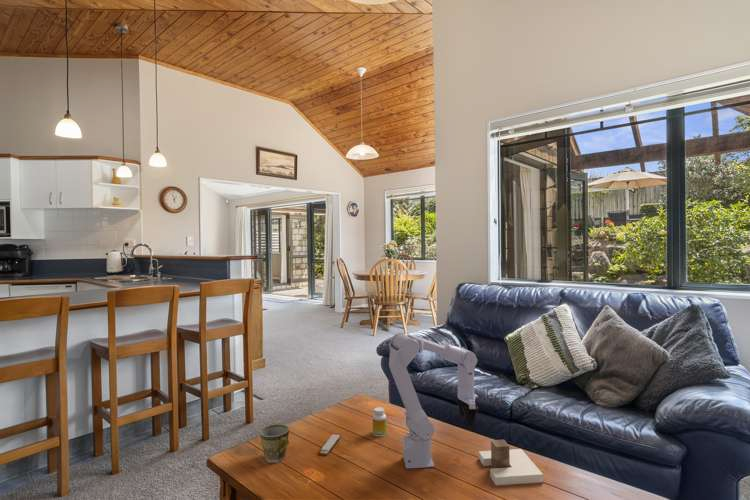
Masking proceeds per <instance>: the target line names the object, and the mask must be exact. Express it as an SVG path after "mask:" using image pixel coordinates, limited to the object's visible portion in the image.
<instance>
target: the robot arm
mask: <svg viewBox="0 0 750 500" xmlns="http://www.w3.org/2000/svg"><path fill="white" fill-rule="evenodd" d="M388 346H389V360H388V367H389V370H390V373H391V374H392V377H393V381H394V383H395V385H396V388H397V390H398V393H399V396H400V397H401V400H402V403H403V406H404V409H405V412H404V415H405V424H406V428H408V430H409V433H408V434H407V435H404V436H402V449H403V450H402V459H403V462H404V466H405V468H406V469H421V468H422V469H423V468H434V467H435V463H434V461H433V459H432V442H431V441H432V440H431V439H432V437H433V435H434V433H435V425H434V423H433V422H432V421H430V419H429V417H428V415H427V414H426V412H425V411H424V409H423V408H422V405H421V403H420V399H419V397H418V394H417V392H416V390H415V387H414V385H413V382H412V380H411V377H410V374H409V371H408V369H407V367H408V366H409V364H410V363H411V362H412V361H413V360H414V358H416V356H417V355H418V353H419V354H421V353H423V351H427V352H430V353H434V354H438V355H439V357H440V359H442V360H445V361H447V362H451V363H453V364H457V395H455V396H454V398H455V401H456V404H457V407H458V412H459V417H460V418H465V425H466V426H467V427H473V426H474V424H475V419H476V415H477V414H478V412H479V409H480V408H479V406H478V405H476V402H475V401H476V399H478V397H479V395H477V394H476V393H475V370H476V366H477V364H478V359H479V358H477V356H476V354H475V353H474V352H473V351H472V350H468V349H466V348H465V347H463V346H456V345H455V344H454V343H452V342H451V341H450V342H445V343H443V344H442V345H441V344H439V343H436V342H433V341H431V340H429V339H425V338H423V337H420V336H418V335H417V336H416V335H413V334H412V335H411V334H405V333H403V332H398V333H395V334H394V335H393V336H392V338H391V340H390V342H389V343H388Z"/></svg>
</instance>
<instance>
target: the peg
mask: <svg viewBox="0 0 750 500" xmlns="http://www.w3.org/2000/svg"><path fill="white" fill-rule="evenodd" d="M509 450H510V444H508V442H507V441H506V440H505V439H491V440H490V451H491V466H490V468H491V469H493V468H509V467H510V454H509Z"/></svg>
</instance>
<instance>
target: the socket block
mask: <svg viewBox="0 0 750 500" xmlns="http://www.w3.org/2000/svg"><path fill="white" fill-rule="evenodd" d="M509 454H510V467H509V468H493V469H492V468H490V469H489V477H490V478H491V480H492V481H493V483H494V485H495V486H509V485H522V484H523V485H524V484H537V483H544V473H543V472H542V471H541V470H540V469H539V468H538V467H537V465H536V464H535V463H534V461H532V459H531V458H530V457H529V456H528V455H527V454H526V453H525V451H524V450H523V449H522V448H517V449H516V448H515V449H513V448H512V449H509ZM478 459H479V461H480V462H481V464H482V466H483V467H491V450H480V451H478Z"/></svg>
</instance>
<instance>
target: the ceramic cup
mask: <svg viewBox="0 0 750 500" xmlns="http://www.w3.org/2000/svg"><path fill="white" fill-rule="evenodd" d="M289 434H290V427H289V425H287V424H284V423H273V424H268V425H265V426H264V427H262V428H261V429H260V431H259V436H260V441H261V445H262V449H263V450H262V451H263V455H264V460H265V461H266V462H267V463H269V464H271V463H272V464H273V463H274V464H275V463H277V462H278V463H280V462H282V461H284V460H285V457H286V453H287V452H286V451H287V447H288V446H289V444H290V441H289Z"/></svg>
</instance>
